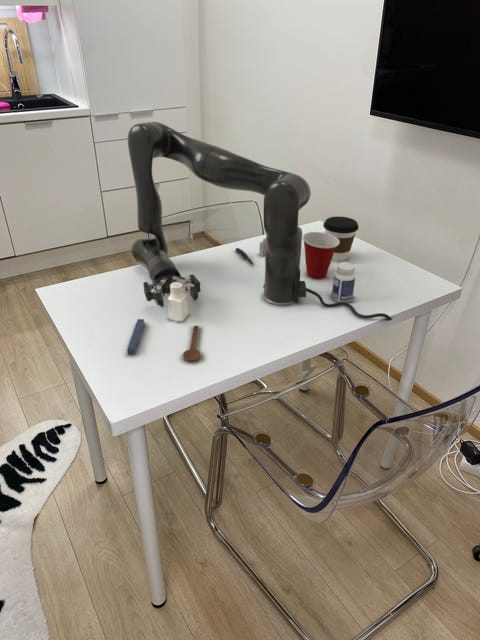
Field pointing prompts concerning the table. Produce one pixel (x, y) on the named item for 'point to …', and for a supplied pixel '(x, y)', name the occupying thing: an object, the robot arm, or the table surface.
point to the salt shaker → (177, 302)
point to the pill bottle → (343, 282)
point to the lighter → (263, 247)
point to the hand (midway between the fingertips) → (179, 300)
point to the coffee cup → (341, 234)
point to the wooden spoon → (193, 348)
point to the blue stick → (135, 337)
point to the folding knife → (243, 255)
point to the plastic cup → (319, 253)
